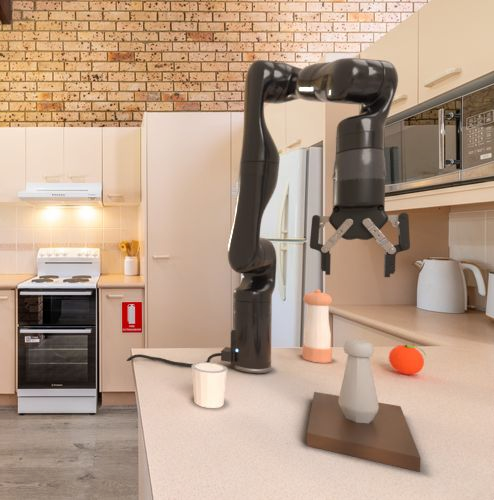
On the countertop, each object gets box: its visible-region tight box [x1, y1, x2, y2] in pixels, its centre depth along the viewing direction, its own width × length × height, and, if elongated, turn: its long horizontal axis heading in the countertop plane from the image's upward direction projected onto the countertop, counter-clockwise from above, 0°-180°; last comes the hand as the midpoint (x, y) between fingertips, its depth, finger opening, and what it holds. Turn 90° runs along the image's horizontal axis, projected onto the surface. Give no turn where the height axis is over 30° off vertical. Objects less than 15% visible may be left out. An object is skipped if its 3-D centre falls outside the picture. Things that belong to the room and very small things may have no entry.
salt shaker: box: [338, 338, 379, 423], centre depth 65 cm, size 6×6×13 cm
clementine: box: [388, 344, 427, 376], centre depth 95 cm, size 8×7×7 cm
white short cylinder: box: [191, 361, 228, 409], centre depth 77 cm, size 7×7×7 cm
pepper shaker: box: [301, 289, 333, 364], centre depth 108 cm, size 7×7×19 cm
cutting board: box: [306, 391, 421, 472], centre depth 65 cm, size 14×20×2 cm
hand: (356, 275), depth 66 cm, fingers open, 8 cm apart
